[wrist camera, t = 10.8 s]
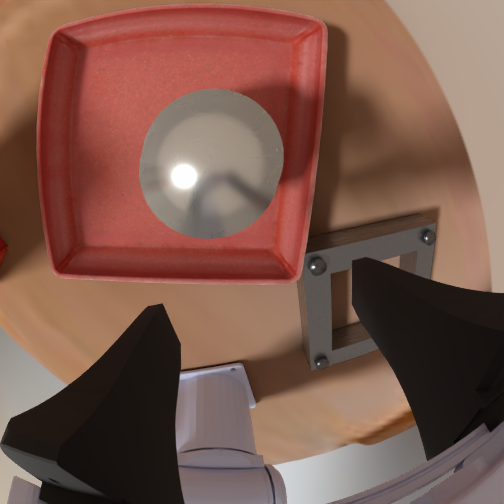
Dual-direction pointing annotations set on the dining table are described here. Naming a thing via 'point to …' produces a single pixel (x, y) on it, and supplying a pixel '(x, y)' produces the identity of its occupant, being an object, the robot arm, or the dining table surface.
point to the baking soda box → (2, 250)
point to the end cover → (211, 163)
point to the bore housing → (340, 258)
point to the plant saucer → (139, 121)
